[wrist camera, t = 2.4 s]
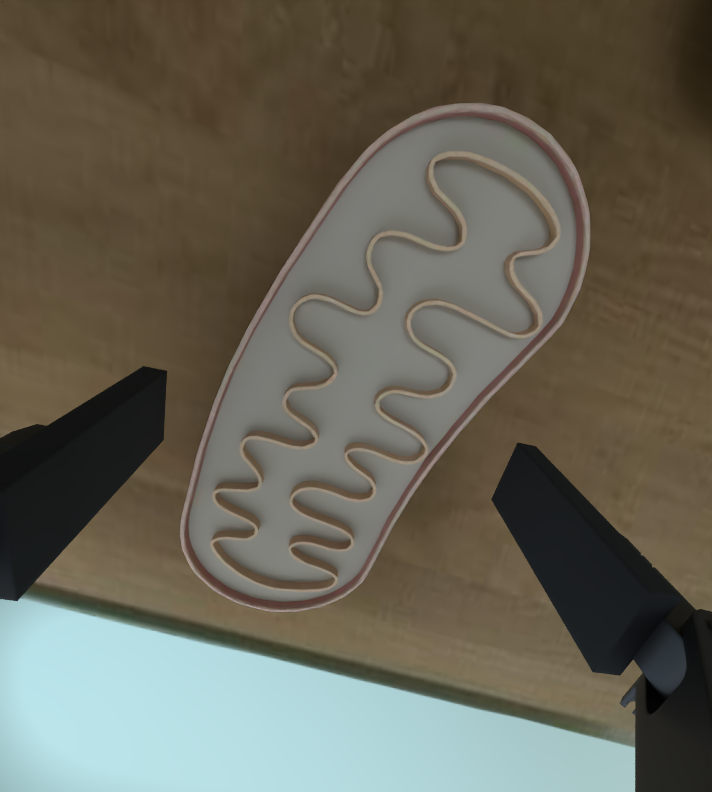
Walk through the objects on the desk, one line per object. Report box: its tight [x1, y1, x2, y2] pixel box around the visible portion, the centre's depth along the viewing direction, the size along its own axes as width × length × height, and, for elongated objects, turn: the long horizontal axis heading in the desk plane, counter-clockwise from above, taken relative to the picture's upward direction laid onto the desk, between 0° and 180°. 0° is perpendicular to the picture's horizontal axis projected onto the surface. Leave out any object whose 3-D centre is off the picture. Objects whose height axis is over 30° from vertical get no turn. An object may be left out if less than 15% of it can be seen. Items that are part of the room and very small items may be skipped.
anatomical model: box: [180, 103, 590, 612], centre depth 17 cm, size 23×10×5 cm, turn 151°
